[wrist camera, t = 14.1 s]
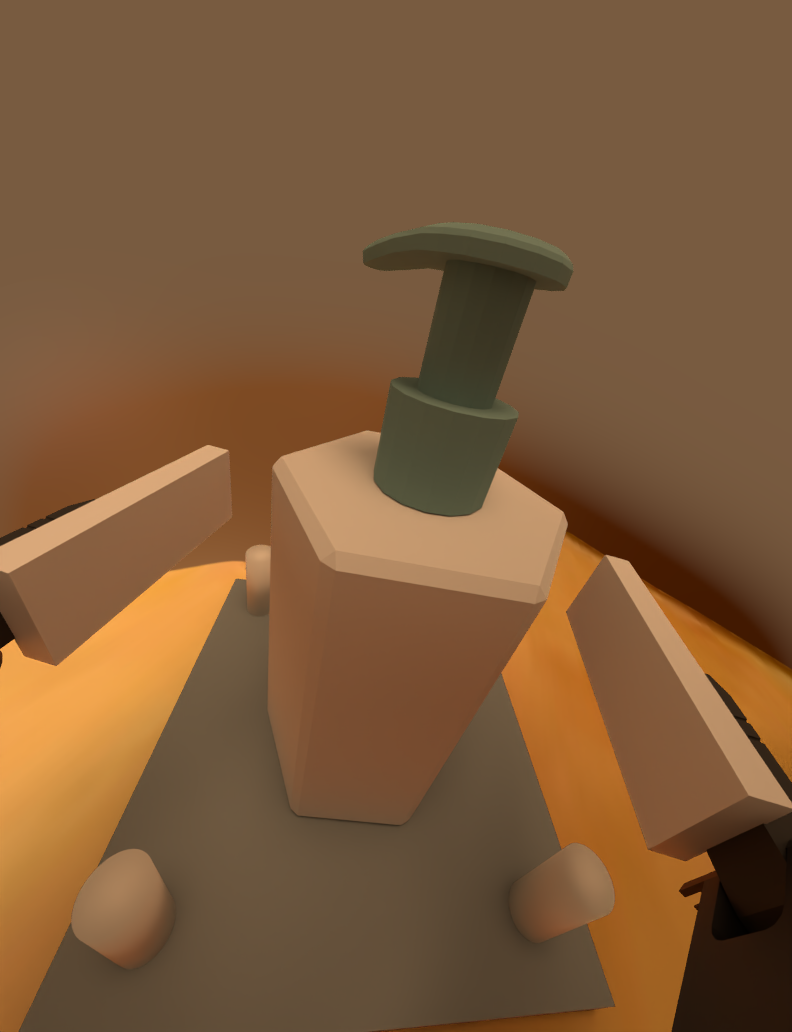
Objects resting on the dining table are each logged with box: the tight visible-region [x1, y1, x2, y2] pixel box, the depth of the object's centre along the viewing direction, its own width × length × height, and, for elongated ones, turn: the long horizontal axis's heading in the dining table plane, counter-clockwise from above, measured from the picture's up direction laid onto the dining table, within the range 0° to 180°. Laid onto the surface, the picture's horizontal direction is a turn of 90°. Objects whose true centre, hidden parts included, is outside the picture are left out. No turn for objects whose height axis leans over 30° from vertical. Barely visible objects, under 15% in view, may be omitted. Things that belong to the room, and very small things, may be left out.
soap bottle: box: [267, 222, 573, 825], centre depth 14 cm, size 10×9×22 cm
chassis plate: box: [19, 545, 615, 1032], centre depth 19 cm, size 20×20×6 cm
